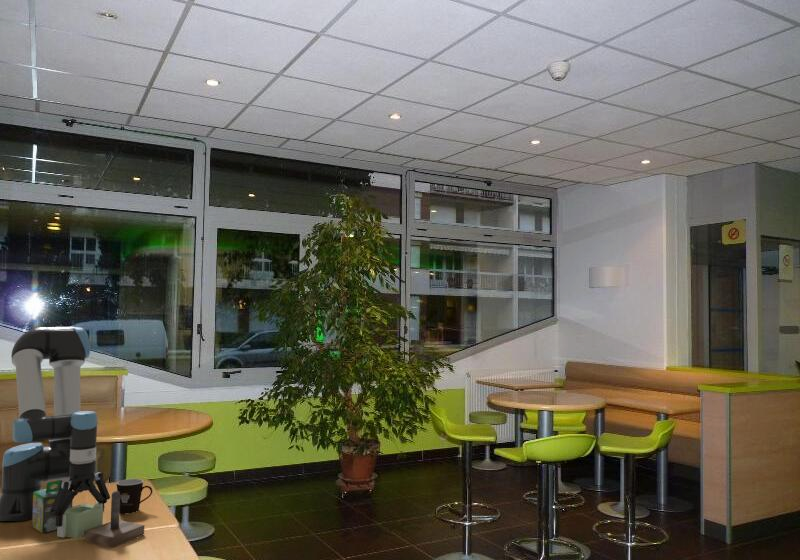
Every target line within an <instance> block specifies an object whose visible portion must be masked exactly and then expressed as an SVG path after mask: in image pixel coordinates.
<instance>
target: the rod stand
mask: <svg viewBox="0 0 800 560" xmlns="http://www.w3.org/2000/svg"><path fill="white" fill-rule="evenodd" d="M110 500H111V503H110V521H109V522H106V523H103V524H102V525H100V526H97V527H94V528H91V529H88V530H86V531H84V537H83V542H86V543H90V544H95V545H99V546H104V547H107V548H115V547H117V546H120V545H122V544H125V543H127V542H130V541H132V540H135V539H138V538H140V537H139V536H141V535H143V534H144V535H145V525H144V524H139V523H134V522H130V521H125V520H120V513H119V512H120V493H119V492H118V491H117V490H114V491H113V492H111V497H110ZM144 535H143V536H144ZM137 537H138V538H137ZM141 537H142V536H141Z"/></svg>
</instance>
